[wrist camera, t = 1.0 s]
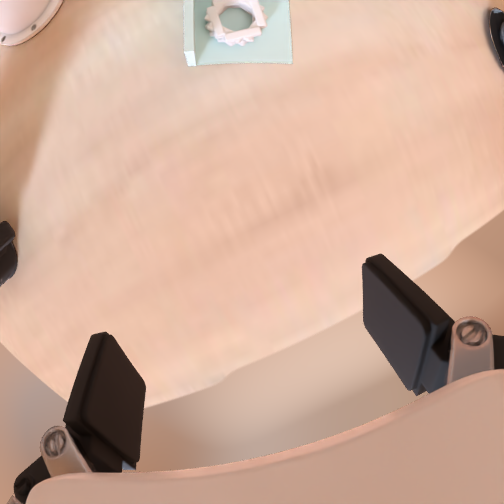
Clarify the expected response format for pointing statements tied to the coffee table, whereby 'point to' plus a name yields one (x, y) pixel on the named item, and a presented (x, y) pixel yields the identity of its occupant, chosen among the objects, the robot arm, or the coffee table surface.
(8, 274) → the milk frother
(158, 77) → the coffee table surface
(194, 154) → the coffee table surface
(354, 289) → the coffee table surface
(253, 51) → the right angle wall
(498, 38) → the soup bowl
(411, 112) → the coffee table surface
